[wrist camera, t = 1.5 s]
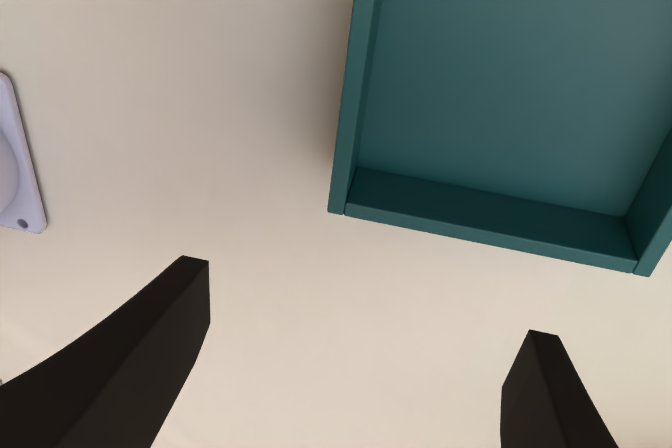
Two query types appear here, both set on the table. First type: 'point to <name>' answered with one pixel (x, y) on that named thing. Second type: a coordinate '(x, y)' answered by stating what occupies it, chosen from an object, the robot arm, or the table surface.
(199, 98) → the table surface
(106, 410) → the robot arm
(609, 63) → the box
